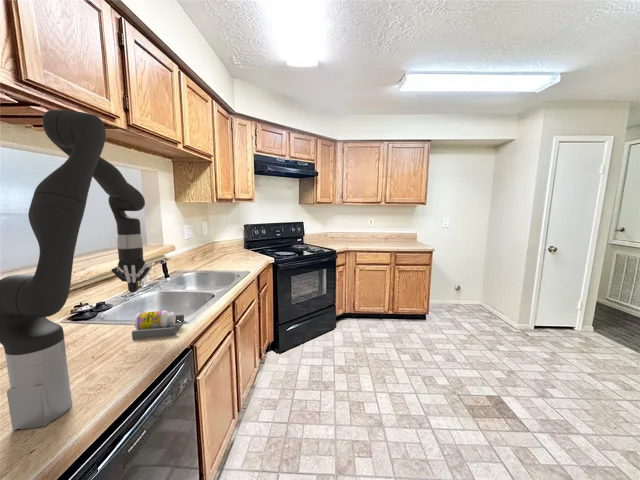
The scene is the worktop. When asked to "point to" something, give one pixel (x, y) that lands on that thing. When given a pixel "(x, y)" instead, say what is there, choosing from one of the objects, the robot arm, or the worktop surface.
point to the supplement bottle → (154, 320)
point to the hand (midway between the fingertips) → (133, 291)
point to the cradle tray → (159, 330)
